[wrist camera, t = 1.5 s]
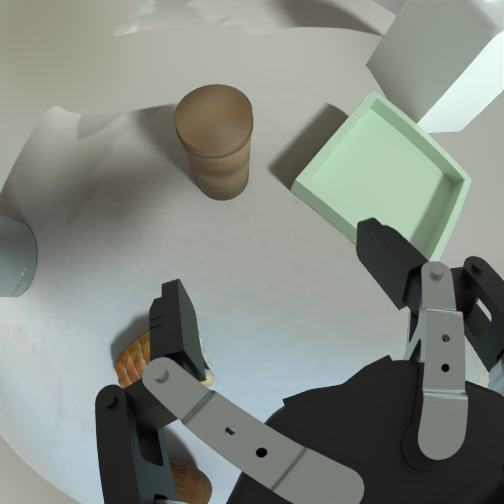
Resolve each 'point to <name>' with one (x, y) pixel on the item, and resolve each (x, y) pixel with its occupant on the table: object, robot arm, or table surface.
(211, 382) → the pastry
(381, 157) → the bin
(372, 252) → the robot arm
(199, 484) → the potato
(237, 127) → the pepper mill
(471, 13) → the milk
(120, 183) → the table surface
